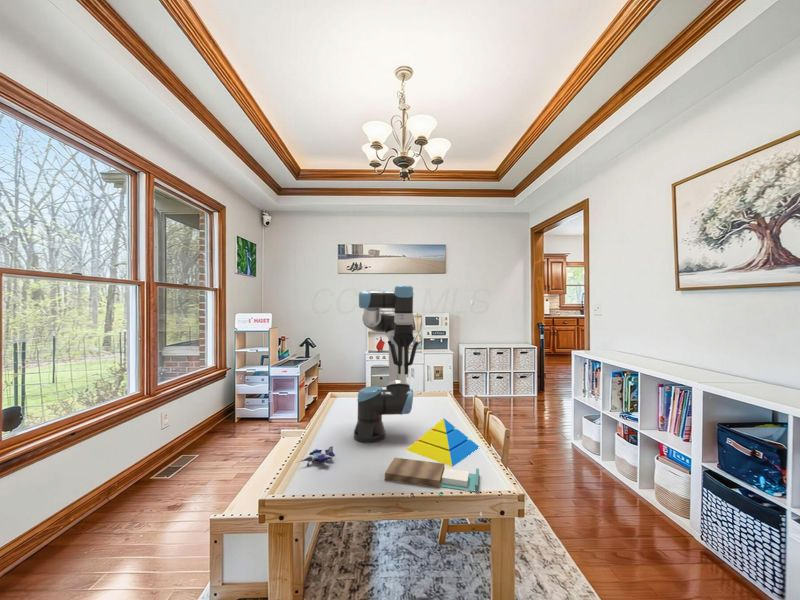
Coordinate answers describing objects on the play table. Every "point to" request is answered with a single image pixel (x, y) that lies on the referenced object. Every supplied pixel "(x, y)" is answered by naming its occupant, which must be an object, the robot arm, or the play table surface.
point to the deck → (415, 472)
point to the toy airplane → (320, 456)
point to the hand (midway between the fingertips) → (403, 382)
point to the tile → (455, 477)
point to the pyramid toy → (444, 444)
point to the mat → (471, 483)
